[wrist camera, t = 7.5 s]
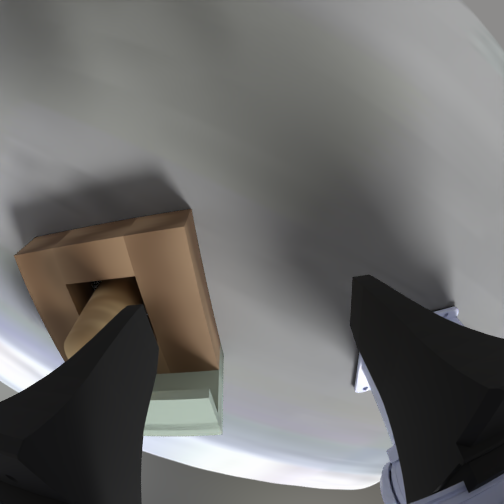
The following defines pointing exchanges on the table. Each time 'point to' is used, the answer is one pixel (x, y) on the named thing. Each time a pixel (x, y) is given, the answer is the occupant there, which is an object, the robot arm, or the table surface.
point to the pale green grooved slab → (186, 404)
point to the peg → (102, 310)
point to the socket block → (127, 265)
